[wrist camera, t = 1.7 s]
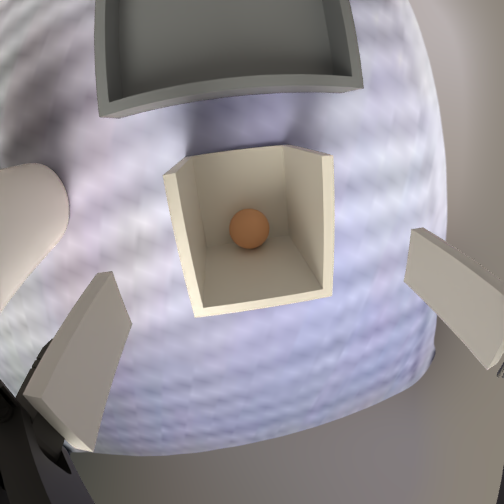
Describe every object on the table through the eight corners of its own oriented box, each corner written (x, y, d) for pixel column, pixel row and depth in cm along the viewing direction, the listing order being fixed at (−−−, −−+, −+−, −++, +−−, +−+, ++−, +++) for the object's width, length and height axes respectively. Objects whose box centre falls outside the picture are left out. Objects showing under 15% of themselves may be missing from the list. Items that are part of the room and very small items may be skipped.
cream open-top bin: (185, 156, 20) (162, 175, 12) (288, 144, 20) (333, 155, 12) (201, 251, 23) (195, 317, 15) (294, 238, 24) (331, 295, 16)
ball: (224, 205, 21) (229, 222, 19) (263, 200, 21) (273, 215, 19) (229, 239, 23) (234, 259, 20) (265, 233, 23) (274, 252, 21)
